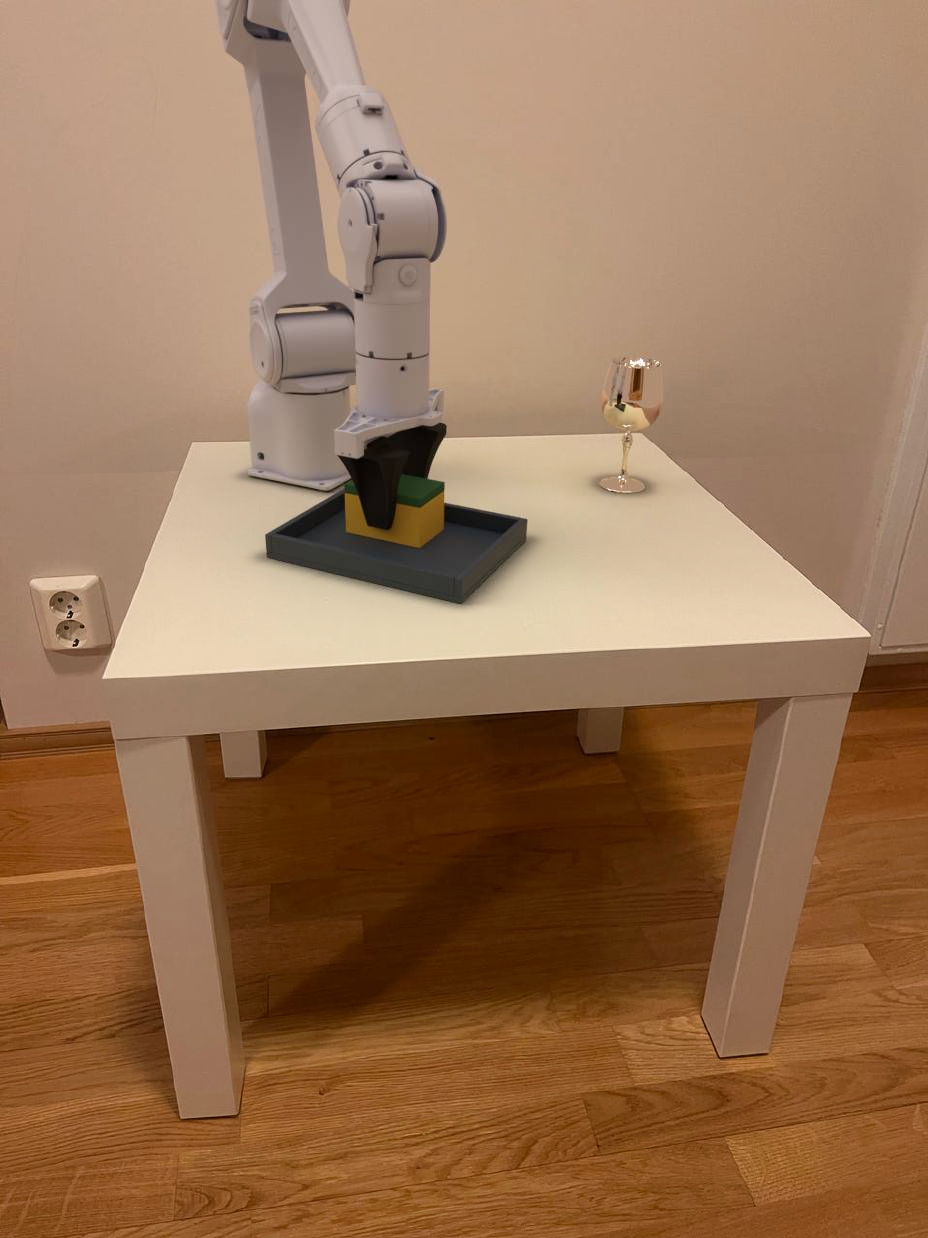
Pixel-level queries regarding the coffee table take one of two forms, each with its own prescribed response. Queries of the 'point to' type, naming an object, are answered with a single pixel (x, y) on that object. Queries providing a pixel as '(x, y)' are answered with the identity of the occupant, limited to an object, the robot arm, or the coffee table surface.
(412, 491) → the sponge
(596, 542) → the coffee table surface
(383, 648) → the coffee table surface
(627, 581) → the coffee table surface
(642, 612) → the coffee table surface
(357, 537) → the tray
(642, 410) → the wineglass
